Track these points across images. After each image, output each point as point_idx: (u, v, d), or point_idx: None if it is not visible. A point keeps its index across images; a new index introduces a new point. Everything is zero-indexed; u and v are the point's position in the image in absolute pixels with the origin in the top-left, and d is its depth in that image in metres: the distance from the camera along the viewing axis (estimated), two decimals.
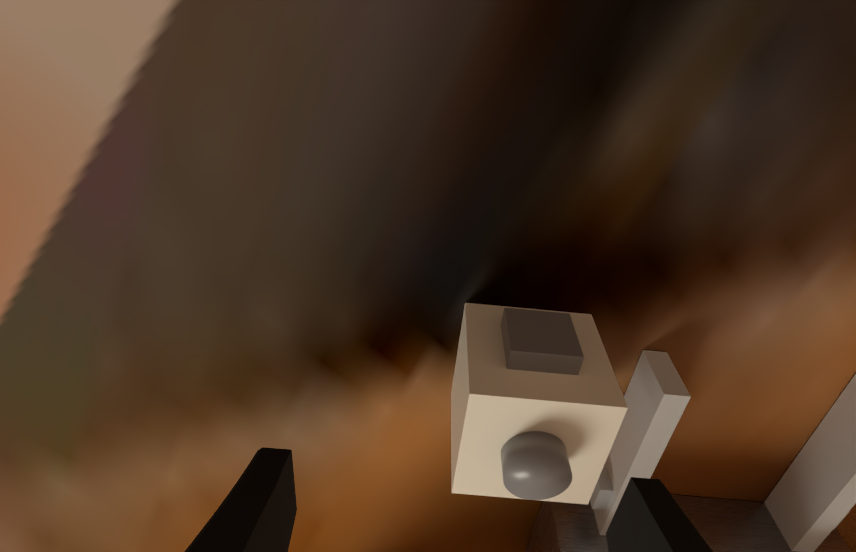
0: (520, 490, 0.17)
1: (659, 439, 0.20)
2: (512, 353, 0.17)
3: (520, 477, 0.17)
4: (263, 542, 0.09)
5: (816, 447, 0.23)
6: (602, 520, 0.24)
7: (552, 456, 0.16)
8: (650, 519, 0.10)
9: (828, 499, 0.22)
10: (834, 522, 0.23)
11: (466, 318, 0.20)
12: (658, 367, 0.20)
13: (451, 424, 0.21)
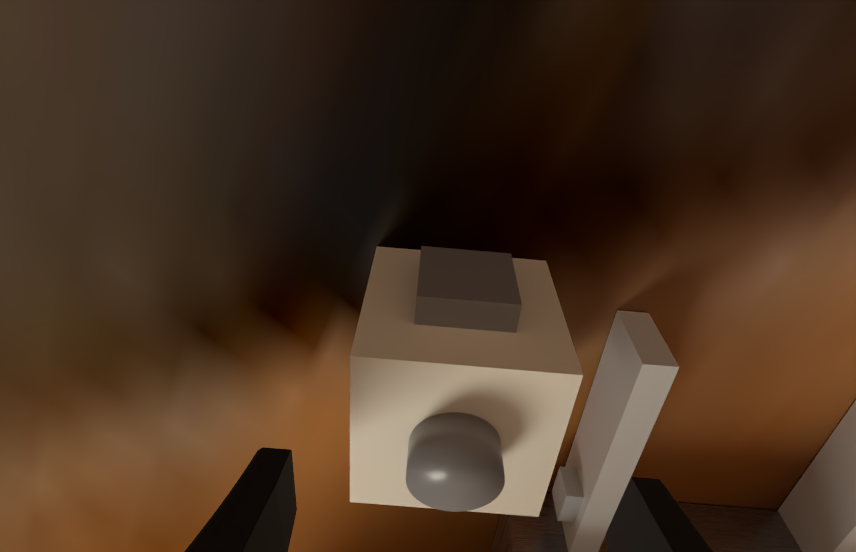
0: (434, 499, 0.12)
1: (639, 427, 0.15)
2: (419, 299, 0.12)
3: (430, 480, 0.12)
4: (263, 542, 0.09)
5: (845, 439, 0.18)
6: (571, 535, 0.19)
7: (473, 447, 0.11)
8: (650, 519, 0.10)
9: None
10: None
11: (373, 263, 0.14)
12: (636, 331, 0.15)
13: None
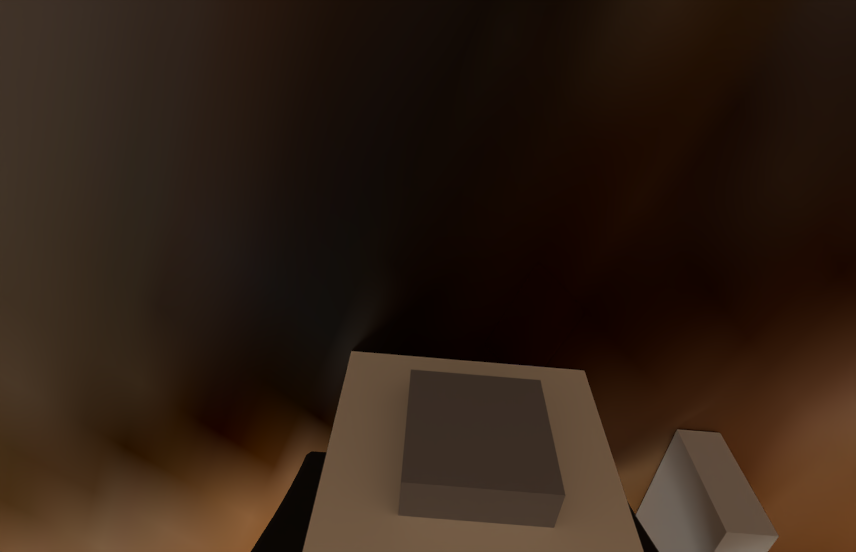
0: None
1: None
2: (404, 486, 0.08)
3: None
4: None
5: None
6: None
7: None
8: None
9: None
10: None
11: (344, 387, 0.10)
12: (708, 467, 0.11)
13: None
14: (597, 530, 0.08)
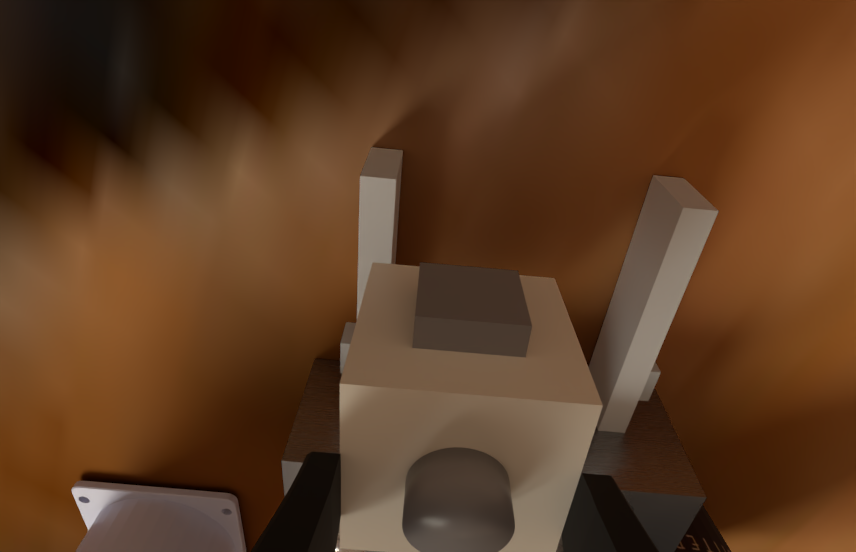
0: (434, 546, 0.10)
1: (378, 253, 0.15)
2: (417, 320, 0.11)
3: (429, 526, 0.10)
4: (319, 547, 0.09)
5: (620, 293, 0.18)
6: None
7: (479, 488, 0.10)
8: (596, 515, 0.10)
9: (625, 351, 0.17)
10: (639, 385, 0.18)
11: (368, 282, 0.13)
12: (377, 158, 0.16)
13: None
14: (557, 359, 0.11)
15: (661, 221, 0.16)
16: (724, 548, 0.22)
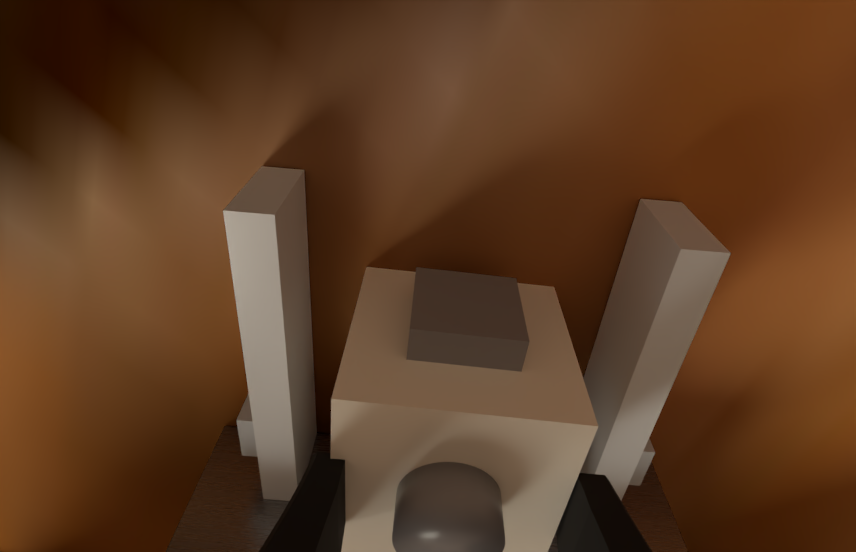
0: None
1: (264, 312, 0.11)
2: (412, 332, 0.10)
3: (419, 540, 0.10)
4: (326, 547, 0.09)
5: (601, 348, 0.14)
6: None
7: (470, 506, 0.10)
8: (590, 514, 0.10)
9: (608, 429, 0.13)
10: (627, 470, 0.14)
11: (362, 284, 0.13)
12: (261, 183, 0.11)
13: None
14: (553, 374, 0.11)
15: (651, 263, 0.11)
16: None
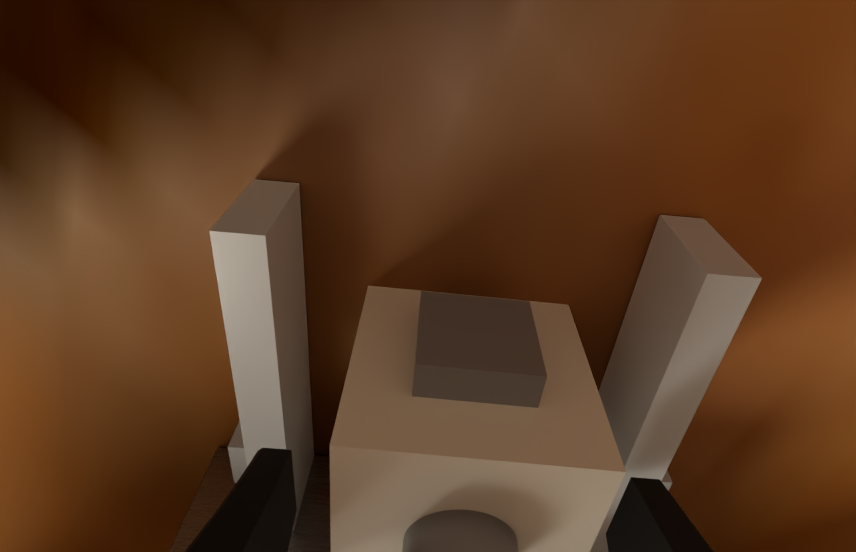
0: None
1: (255, 338, 0.11)
2: (418, 368, 0.09)
3: None
4: (263, 542, 0.09)
5: (615, 372, 0.13)
6: None
7: None
8: (650, 519, 0.10)
9: (622, 460, 0.12)
10: None
11: (363, 309, 0.12)
12: (253, 198, 0.11)
13: None
14: (573, 410, 0.10)
15: (672, 286, 0.11)
16: None
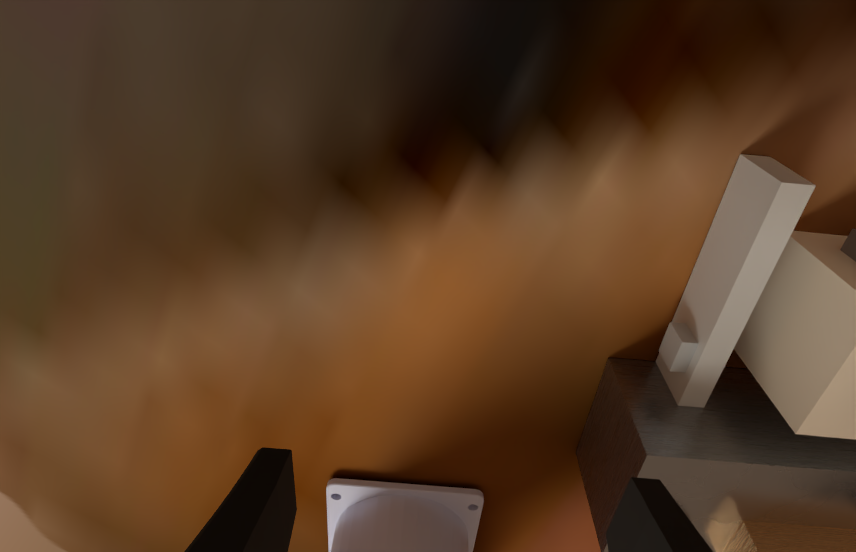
0: None
1: (767, 256, 0.16)
2: None
3: None
4: (263, 542, 0.09)
5: None
6: (680, 387, 0.20)
7: None
8: (650, 519, 0.10)
9: None
10: None
11: (798, 243, 0.18)
12: (765, 165, 0.16)
13: (750, 366, 0.20)
14: None
15: None
16: None
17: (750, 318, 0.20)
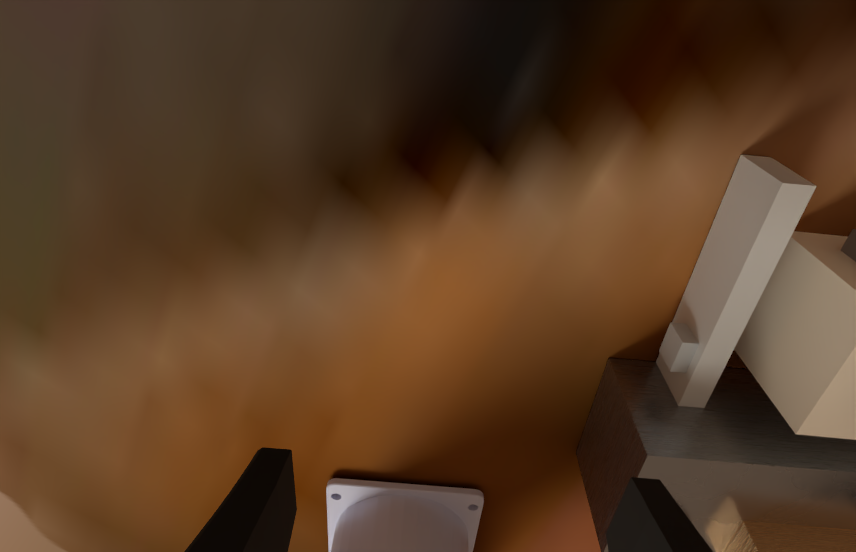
0: None
1: (768, 256, 0.16)
2: None
3: None
4: (263, 542, 0.09)
5: None
6: (681, 387, 0.20)
7: None
8: (650, 519, 0.10)
9: None
10: None
11: (798, 243, 0.18)
12: (765, 166, 0.16)
13: (750, 367, 0.20)
14: None
15: None
16: None
17: (750, 318, 0.20)
